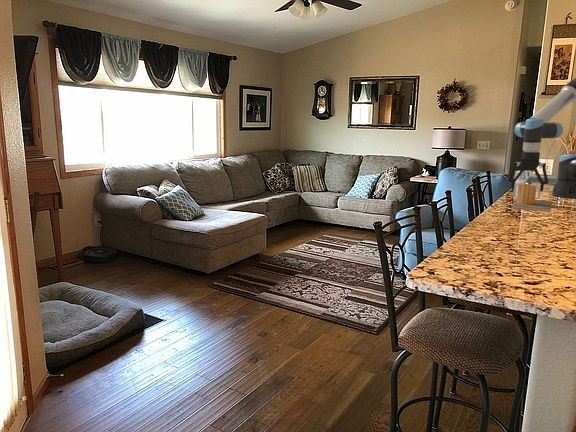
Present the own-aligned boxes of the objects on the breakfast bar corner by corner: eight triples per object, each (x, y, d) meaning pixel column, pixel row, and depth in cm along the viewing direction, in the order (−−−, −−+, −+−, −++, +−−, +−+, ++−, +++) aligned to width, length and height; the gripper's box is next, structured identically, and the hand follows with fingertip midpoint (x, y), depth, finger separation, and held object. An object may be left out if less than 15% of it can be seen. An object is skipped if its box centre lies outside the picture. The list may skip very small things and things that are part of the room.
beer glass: (523, 198, 244) (526, 170, 241) (529, 200, 238) (532, 172, 234) (510, 198, 245) (512, 170, 242) (515, 200, 238) (518, 172, 235)
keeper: (525, 181, 229) (525, 176, 228) (525, 181, 232) (526, 176, 231) (556, 183, 222) (557, 178, 222) (556, 182, 225) (557, 177, 224)
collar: (517, 201, 229) (519, 183, 227) (534, 202, 225) (536, 184, 223) (516, 203, 223) (518, 185, 221) (533, 205, 219) (536, 186, 217)
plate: (516, 201, 237) (516, 198, 237) (551, 204, 229) (552, 201, 228) (510, 211, 212) (510, 208, 211) (549, 215, 204) (550, 211, 203)
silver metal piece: (524, 199, 233) (526, 181, 231) (529, 200, 232) (531, 182, 230) (522, 203, 224) (524, 184, 222) (528, 203, 223) (530, 185, 221)
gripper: (504, 151, 221) (500, 196, 226) (558, 152, 210) (552, 200, 215) (506, 150, 227) (502, 194, 232) (558, 151, 216) (552, 197, 221)
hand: (526, 197), depth 223 cm, fingers open, 10 cm apart
